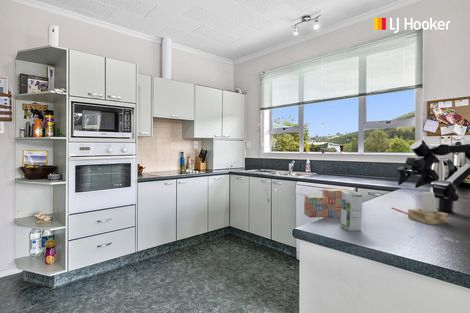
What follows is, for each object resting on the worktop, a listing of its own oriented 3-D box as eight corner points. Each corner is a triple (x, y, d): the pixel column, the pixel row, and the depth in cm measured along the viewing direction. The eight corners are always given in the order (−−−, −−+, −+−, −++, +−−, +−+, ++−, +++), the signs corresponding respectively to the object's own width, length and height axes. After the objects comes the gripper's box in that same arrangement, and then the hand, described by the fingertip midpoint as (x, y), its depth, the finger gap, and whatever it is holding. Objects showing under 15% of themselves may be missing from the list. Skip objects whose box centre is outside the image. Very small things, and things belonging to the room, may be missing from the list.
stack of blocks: (309, 218, 117) (309, 191, 116) (303, 214, 123) (304, 188, 123) (353, 217, 119) (354, 190, 119) (345, 213, 126) (346, 188, 125)
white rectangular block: (423, 218, 117) (424, 191, 117) (433, 220, 114) (434, 192, 114) (421, 220, 115) (422, 192, 115) (430, 222, 112) (431, 193, 112)
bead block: (424, 216, 121) (425, 208, 121) (447, 222, 111) (447, 213, 111) (408, 218, 118) (408, 209, 118) (429, 224, 109) (429, 215, 108)
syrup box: (339, 226, 104) (340, 190, 104) (353, 226, 105) (354, 190, 104) (347, 231, 99) (348, 193, 98) (361, 230, 99) (363, 193, 99)
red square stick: (391, 208, 137) (391, 207, 137) (392, 208, 137) (393, 207, 137) (409, 215, 123) (409, 214, 123) (411, 215, 123) (411, 214, 123)
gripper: (400, 151, 137) (382, 172, 134) (435, 152, 119) (416, 176, 116) (411, 166, 139) (394, 187, 137) (447, 169, 121) (428, 193, 119)
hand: (406, 185), depth 127 cm, fingers open, 9 cm apart
